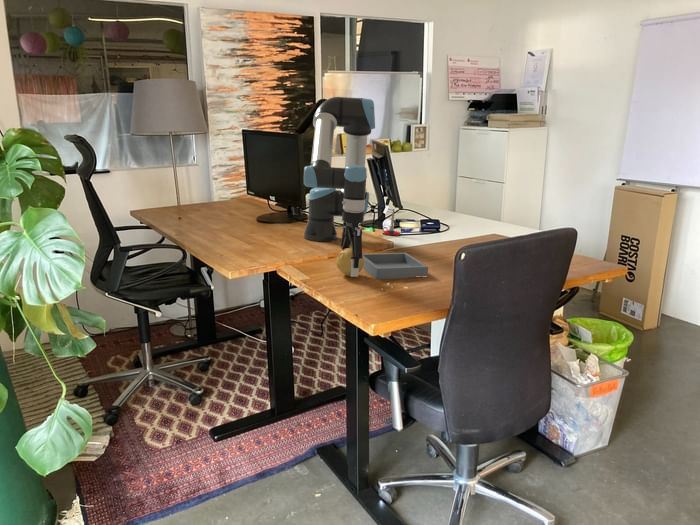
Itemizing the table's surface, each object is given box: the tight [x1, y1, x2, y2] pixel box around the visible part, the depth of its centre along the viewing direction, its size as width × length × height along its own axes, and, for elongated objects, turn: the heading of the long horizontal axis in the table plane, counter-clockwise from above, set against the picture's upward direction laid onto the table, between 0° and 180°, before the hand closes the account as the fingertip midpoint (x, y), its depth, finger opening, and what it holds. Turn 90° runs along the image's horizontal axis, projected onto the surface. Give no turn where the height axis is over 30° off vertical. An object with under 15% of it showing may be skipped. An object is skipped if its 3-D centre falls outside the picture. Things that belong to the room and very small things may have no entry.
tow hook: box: [383, 208, 401, 237], centre depth 268 cm, size 8×13×9 cm
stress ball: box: [336, 247, 364, 277], centre depth 196 cm, size 10×10×10 cm
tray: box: [362, 252, 429, 280], centre depth 206 cm, size 20×20×4 cm
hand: (349, 271), depth 197 cm, fingers closed on stress ball, 10 cm apart
